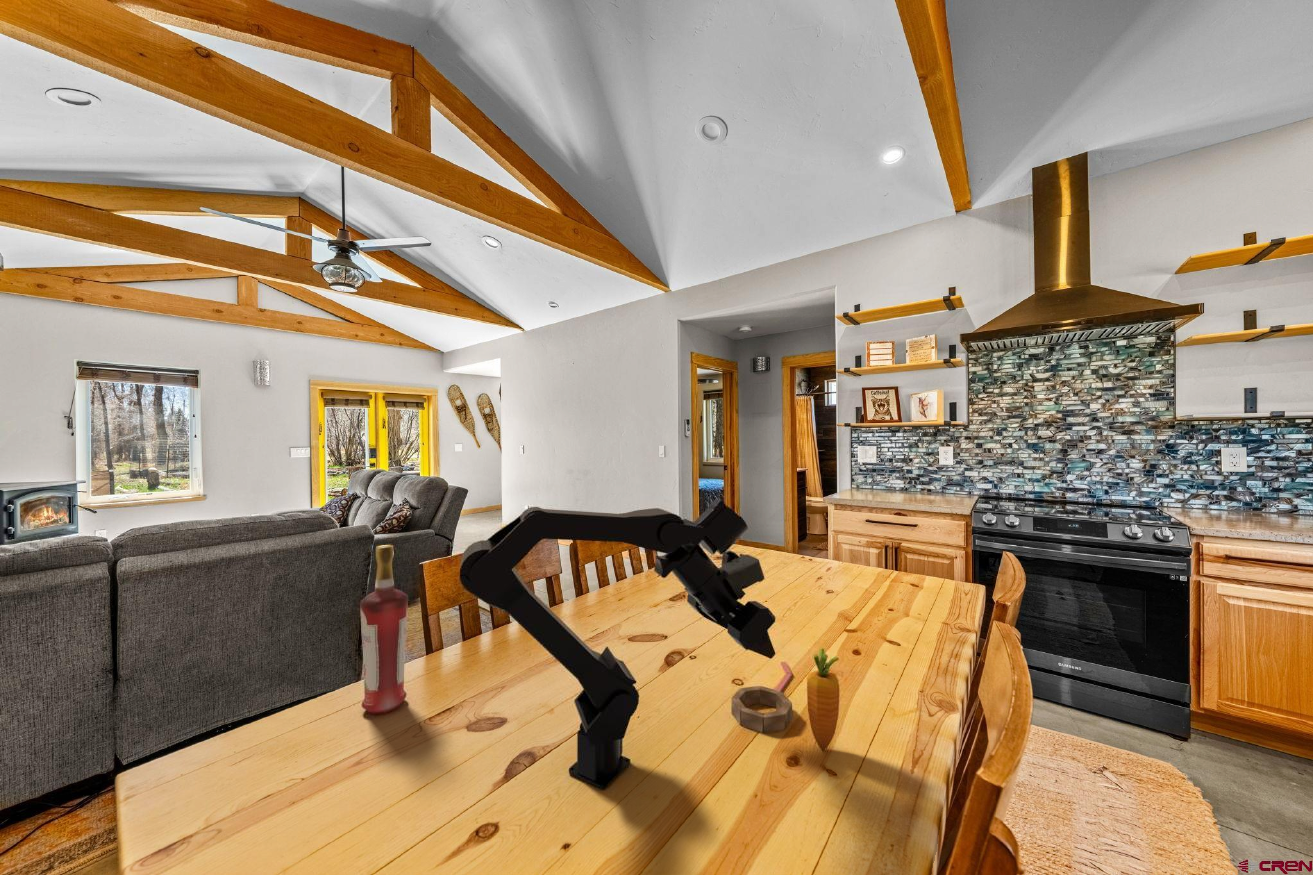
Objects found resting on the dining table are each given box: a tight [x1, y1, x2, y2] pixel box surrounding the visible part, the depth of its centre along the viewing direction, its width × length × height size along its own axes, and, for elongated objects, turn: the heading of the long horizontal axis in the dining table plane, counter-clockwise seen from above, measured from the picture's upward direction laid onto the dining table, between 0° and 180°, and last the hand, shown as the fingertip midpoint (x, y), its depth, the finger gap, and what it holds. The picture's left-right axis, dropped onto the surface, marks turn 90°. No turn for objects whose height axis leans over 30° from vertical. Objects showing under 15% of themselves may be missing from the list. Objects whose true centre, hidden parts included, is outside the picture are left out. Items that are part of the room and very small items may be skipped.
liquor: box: [359, 544, 409, 715], centre depth 85 cm, size 7×7×28 cm
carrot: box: [806, 648, 840, 751], centre depth 74 cm, size 5×5×15 cm
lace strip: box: [774, 661, 793, 692], centre depth 94 cm, size 16×3×1 cm, turn 149°
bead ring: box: [730, 685, 793, 734], centre depth 83 cm, size 9×9×2 cm
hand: (756, 643), depth 78 cm, fingers open, 9 cm apart
